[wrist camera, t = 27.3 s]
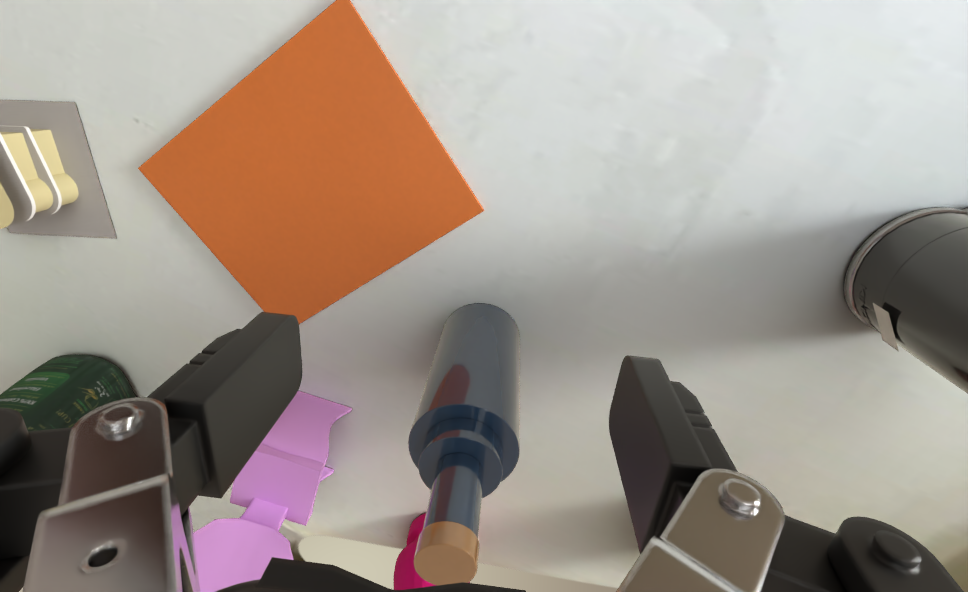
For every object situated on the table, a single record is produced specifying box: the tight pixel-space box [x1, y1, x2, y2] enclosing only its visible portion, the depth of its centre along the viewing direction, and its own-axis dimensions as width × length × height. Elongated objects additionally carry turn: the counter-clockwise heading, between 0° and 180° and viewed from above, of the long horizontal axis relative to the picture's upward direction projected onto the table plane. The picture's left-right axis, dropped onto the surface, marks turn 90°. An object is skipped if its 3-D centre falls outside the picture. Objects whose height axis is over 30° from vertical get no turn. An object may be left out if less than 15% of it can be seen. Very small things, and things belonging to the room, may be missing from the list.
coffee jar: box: [0, 355, 136, 431], centre depth 36 cm, size 10×8×19 cm
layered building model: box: [0, 100, 116, 238], centre depth 33 cm, size 10×9×6 cm
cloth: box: [138, 0, 484, 324], centre depth 35 cm, size 20×16×1 cm
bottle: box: [408, 303, 520, 585], centre depth 30 cm, size 6×6×20 cm
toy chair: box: [193, 391, 352, 592], centre depth 37 cm, size 8×9×15 cm
